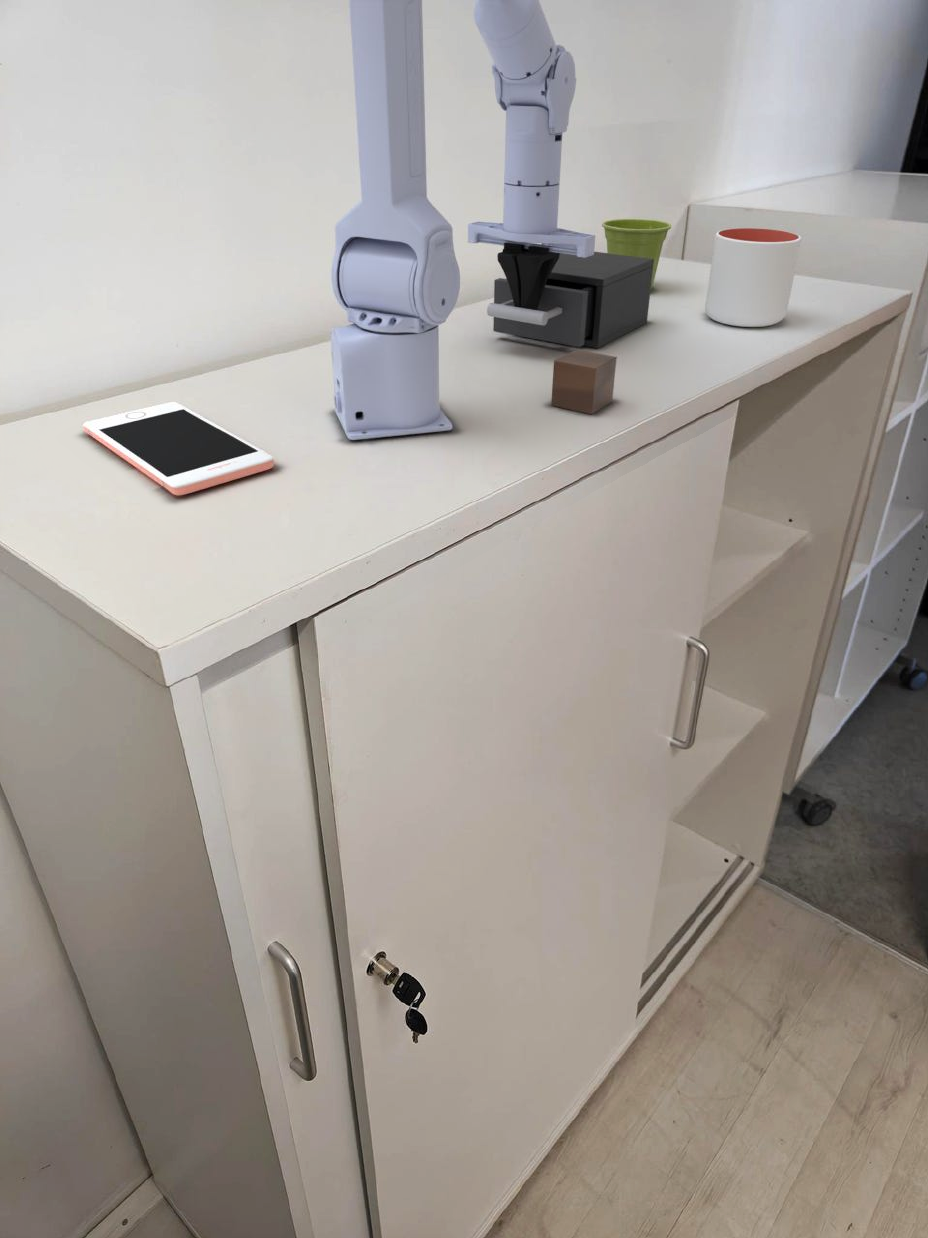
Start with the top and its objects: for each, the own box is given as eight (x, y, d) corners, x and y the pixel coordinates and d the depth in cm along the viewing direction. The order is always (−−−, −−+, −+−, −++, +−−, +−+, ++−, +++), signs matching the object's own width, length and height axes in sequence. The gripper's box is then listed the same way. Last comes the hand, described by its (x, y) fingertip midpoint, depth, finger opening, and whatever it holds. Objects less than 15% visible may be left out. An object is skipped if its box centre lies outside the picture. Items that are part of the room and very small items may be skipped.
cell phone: (176, 410, 84) (174, 400, 83) (277, 467, 72) (275, 457, 72) (83, 432, 79) (81, 422, 78) (176, 498, 67) (174, 486, 67)
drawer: (557, 357, 95) (561, 302, 92) (470, 340, 101) (470, 287, 98) (627, 322, 108) (632, 272, 104) (545, 309, 113) (548, 261, 110)
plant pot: (586, 284, 129) (591, 219, 124) (644, 280, 131) (651, 216, 127) (614, 298, 121) (620, 230, 117) (675, 294, 124) (684, 227, 119)
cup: (788, 331, 108) (806, 244, 102) (704, 327, 109) (717, 240, 104) (780, 311, 116) (796, 229, 111) (702, 307, 118) (714, 226, 112)
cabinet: (597, 348, 102) (603, 279, 97) (504, 331, 107) (506, 265, 103) (647, 323, 111) (654, 258, 107) (558, 308, 117) (562, 247, 113)
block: (591, 414, 83) (595, 368, 81) (550, 405, 85) (553, 360, 83) (612, 401, 86) (616, 356, 84) (572, 393, 88) (575, 348, 86)
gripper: (612, 184, 90) (601, 320, 98) (493, 173, 97) (490, 301, 105) (580, 192, 86) (570, 334, 93) (456, 180, 92) (456, 314, 100)
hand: (526, 318), depth 98 cm, fingers closed, pressing on drawer
